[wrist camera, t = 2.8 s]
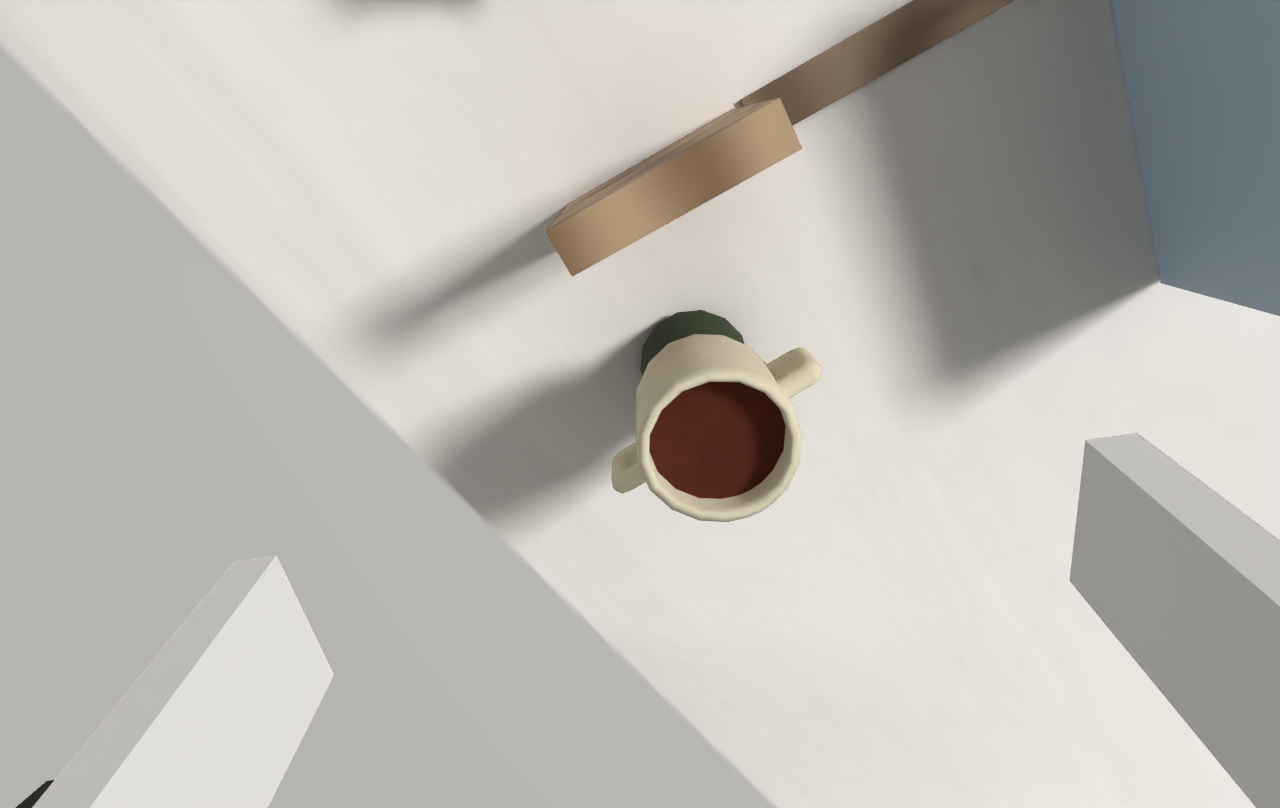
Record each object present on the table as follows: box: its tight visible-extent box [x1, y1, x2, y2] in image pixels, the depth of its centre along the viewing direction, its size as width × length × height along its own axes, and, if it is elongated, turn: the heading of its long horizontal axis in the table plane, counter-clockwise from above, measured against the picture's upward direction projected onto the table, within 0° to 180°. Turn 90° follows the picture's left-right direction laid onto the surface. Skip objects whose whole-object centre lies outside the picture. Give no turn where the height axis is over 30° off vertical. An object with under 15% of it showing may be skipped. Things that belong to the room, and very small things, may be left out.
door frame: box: [546, 0, 1014, 276], centre depth 30 cm, size 33×2×14 cm, turn 119°
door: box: [1112, 0, 1280, 316], centre depth 32 cm, size 18×2×12 cm, turn 24°
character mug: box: [612, 310, 821, 522], centre depth 36 cm, size 11×7×13 cm, turn 123°
